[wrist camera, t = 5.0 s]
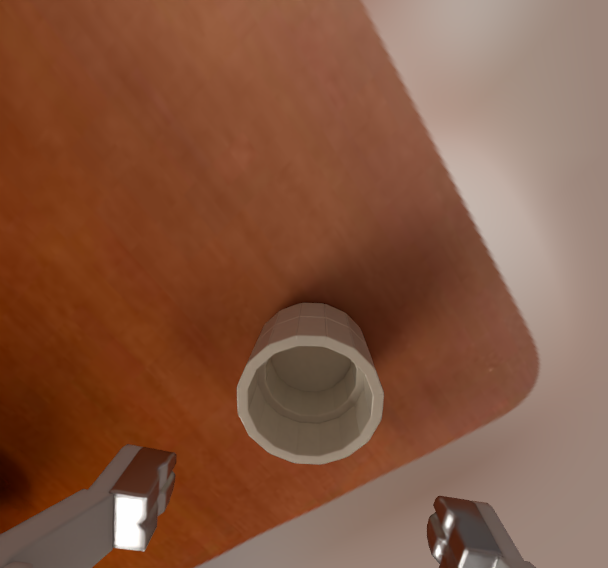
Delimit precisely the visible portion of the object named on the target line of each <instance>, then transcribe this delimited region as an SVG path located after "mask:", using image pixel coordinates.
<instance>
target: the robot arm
mask: <svg viewBox="0 0 608 568" xmlns="http://www.w3.org/2000/svg"><path fill="white" fill-rule="evenodd" d="M175 464H176V454H175V453H173V452H168V451H163V450H158V449H152V448H147V447H140V446H135V445H130V444H127V445H126V446H124V447H123V448H122V449H121V450H120V451H119V452H118V454H117V455H116V456H115V457H114V459H113V460H112V461H111V462H110V463H109V465H108V466H107V467H106V468H105V470H104V471H103V472H102V473H101V475H100V476H99V477H98V478H97V480H96V481H95V482H94V483H93V484H92V486H91V487H90V488H89V489H88V490H86V489H82V490H80V491H79V492H77V493H75V494H73V495H71V496H70V497H68V498H66V499H64V500H62V501H60V502H59V503H57V504H55V505H53V506H51V507H50V508H48V509H46V510H44V511H42V512H40V513H39V514H37V515H35V516H33V517H31V518H30V519H28V520H26V521H24V522H22V523H21V524H19V525H17V526H15V527H13V528H11V529H10V530H8V531H6V532H4V533H2V534H1V535H0V568H92V567H93V566H94V565H95V564H96V563H97V562H99V561H100V560H101V559H102V558H103V557H104V556H106V555H107V554H108V553H109V552H110V551H111V550H112V547H113V548H121V549H129V550H137V551H145V549H146V547H147V545H148V543H149V541H150V539H151V537H152V535H153V533H154V531H155V529H156V527H157V516H159V515H160V514H161V513H163V512H164V511H165V509H166V507H167V505H168V503H169V500H170V497H171V494H172V492H173V488H174V483H175V474H174V472H173V471H172V470H173V468H174V466H175ZM433 506H434V508H435V511H436V512H435V513H434V514H432V515H431V516H430V517H429V521H428V524H427V539H428V544H429V548H430V551H431V554H432V555H433V557H434V558H435V559H436V560H437V562H438V563H439V564H440V566H439V568H536V567H534V565H532V564H531V563H530V562H527V561H524V560H523V558H522V557H521V555H520V553H519V551H518V550H517V548H516V546H515V545H514V543H513V541H512V539H511V538H510V536H509V535H508V533H507V531H506V529H505V528H504V526H503V524H502V523H501V521H500V519H499V518H498V516H497V514H496V513H495V511H494V509H493V508H492V507H491V506H490V505H489V504H488V503H484V502H477V501H469V500H464V499H457V498H451V497H444V496H438V497H437V498H436V499H435V502H434V505H433Z"/></svg>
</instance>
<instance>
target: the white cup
mask: <svg viewBox="0 0 608 568" xmlns="http://www.w3.org/2000/svg"><path fill="white" fill-rule="evenodd" d="M383 402H384V391H383V388H382V385H381V383H380V380H379V377H378V374H377V372H376V369H375V366H374V363H373V360H372V358H371V355H370V352H369V349H368V346H367V344H366V341H365V338H364V336H363V333H362V330H361V329H360V327H359V326H358V325H357V324H356V323H355V322H354V321H353V320H352V319H351V318H350V317H349V316H348V315H347V314H346V313H345V312H343V311H341V310H338V309H336V308H334V307H331V306H329V305H327V304H323V303H299V304H296V305H294V306H291V307H288V308H285V309H282V310H281V311H279V312H278V313H277V314H275V315H274V316H273V317H272V318H271V319H270V320H269V321H268V322H267V323H266V324H265V325H264V326H263V329H262V331H261V333H260V335H259V337H258V340H257V342H256V344H255V346H254V349H253V351H252V353H251V355H250V358H249V360H248V362H247V364H246V367H245V369H244V371H243V373H242V376H241V378H240V380H239V383H238V385H237V411H238V415H239V417H240V419H241V421H242V423H243V425H244V427H245V429H246V431H247V433H248V435H250V437H251V438H252V439H253V440H255V441H256V442H257V443H258V444H259V445H260V446H261V447H262V448H264V449H265V450H266V451H267V452H268V453H270V454H272V455H275V456H277V457H280V458H282V459H285V460H287V461H290V462H292V463H301V464H325V463H328V462H332V461H335V460H339V459H342V458H346V457H348V456H350V455H351V454H352V453H354V452H355V451H356V450H358V449H359V448H360V447H362V446H363V445H364V444H366V443H367V442H368V441H369V440H370V438H371V436H372V435H373V433H374V431H375V430H376V428H377V426H378V425H379V423H380V421H381V419H382V412H383Z"/></svg>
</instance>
